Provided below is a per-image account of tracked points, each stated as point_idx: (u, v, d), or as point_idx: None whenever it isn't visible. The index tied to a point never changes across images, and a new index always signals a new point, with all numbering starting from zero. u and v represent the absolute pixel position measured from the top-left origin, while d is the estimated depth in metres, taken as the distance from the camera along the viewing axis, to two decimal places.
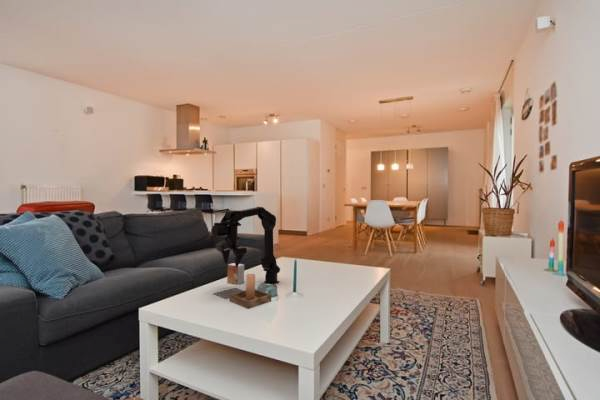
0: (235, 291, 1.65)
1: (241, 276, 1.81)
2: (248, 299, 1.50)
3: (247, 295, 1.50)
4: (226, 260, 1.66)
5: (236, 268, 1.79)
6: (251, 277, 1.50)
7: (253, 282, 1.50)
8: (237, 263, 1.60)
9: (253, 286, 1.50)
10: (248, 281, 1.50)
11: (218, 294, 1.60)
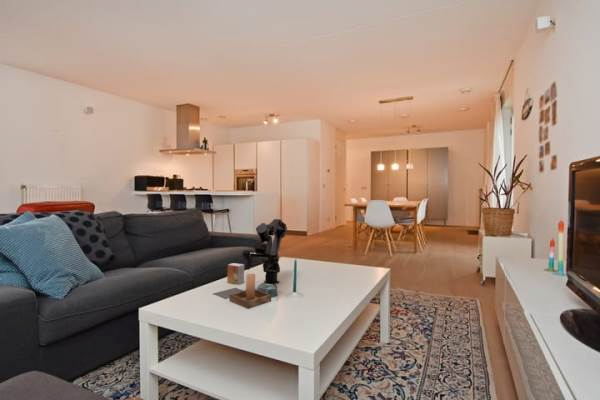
0: (235, 291, 1.65)
1: (241, 276, 1.81)
2: (248, 299, 1.50)
3: (247, 295, 1.50)
4: (249, 266, 1.61)
5: (236, 268, 1.79)
6: (251, 277, 1.50)
7: (253, 282, 1.50)
8: (267, 267, 1.59)
9: (253, 286, 1.50)
10: (248, 281, 1.50)
11: (218, 294, 1.60)
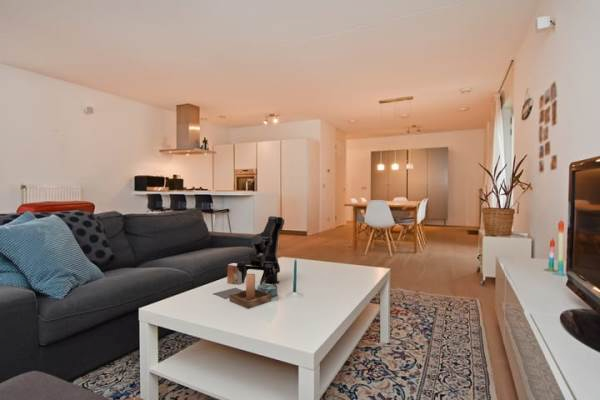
0: (235, 291, 1.65)
1: (241, 276, 1.81)
2: (248, 299, 1.50)
3: (247, 295, 1.50)
4: (243, 279, 1.55)
5: (236, 268, 1.79)
6: (251, 277, 1.50)
7: (253, 282, 1.50)
8: (262, 280, 1.53)
9: (253, 286, 1.50)
10: (248, 281, 1.50)
11: (218, 294, 1.60)
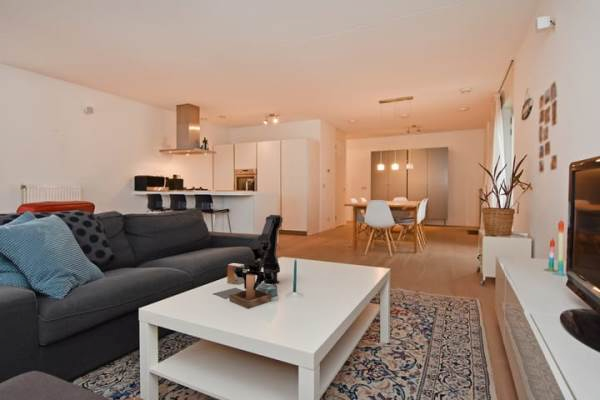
0: (235, 291, 1.65)
1: None
2: (248, 299, 1.50)
3: (247, 295, 1.50)
4: None
5: None
6: (251, 277, 1.50)
7: (253, 282, 1.50)
8: (256, 286, 1.51)
9: (253, 286, 1.50)
10: (248, 281, 1.50)
11: (218, 294, 1.60)
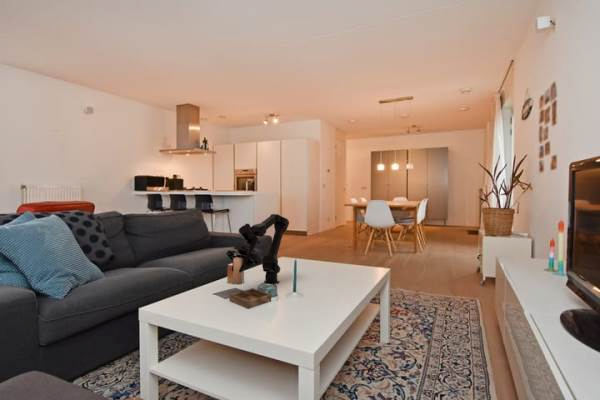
0: (235, 291, 1.65)
1: None
2: (234, 281, 1.55)
3: (234, 277, 1.56)
4: None
5: None
6: (237, 260, 1.55)
7: (239, 265, 1.55)
8: (242, 269, 1.55)
9: (239, 269, 1.55)
10: (234, 264, 1.55)
11: (218, 294, 1.60)
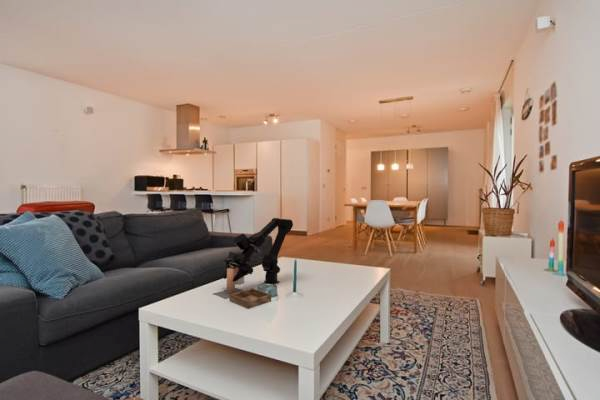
0: (235, 291, 1.65)
1: None
2: (227, 291, 1.61)
3: None
4: (226, 276, 1.65)
5: (236, 268, 1.79)
6: (229, 270, 1.60)
7: (231, 275, 1.61)
8: (236, 278, 1.59)
9: (231, 279, 1.61)
10: (227, 274, 1.61)
11: (218, 294, 1.60)
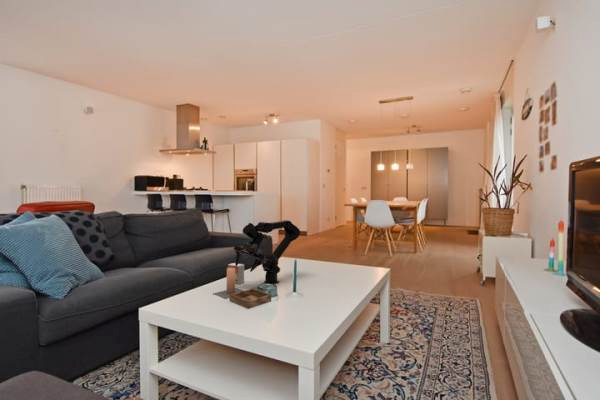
0: (235, 291, 1.65)
1: (241, 276, 1.81)
2: (227, 291, 1.61)
3: None
4: (237, 263, 1.71)
5: (236, 268, 1.79)
6: (229, 270, 1.60)
7: (231, 275, 1.61)
8: (253, 268, 1.68)
9: (231, 279, 1.61)
10: (227, 274, 1.61)
11: (218, 294, 1.60)
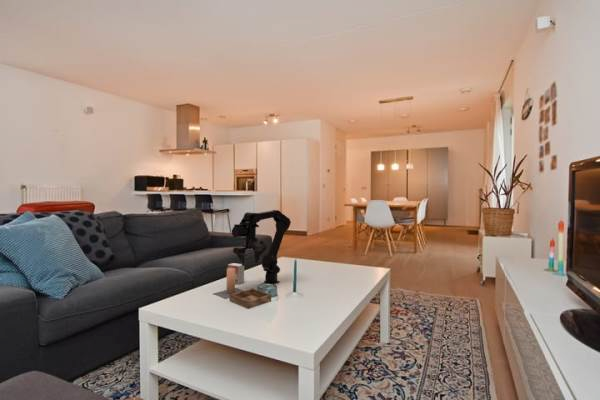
0: (235, 291, 1.65)
1: (241, 276, 1.81)
2: (227, 291, 1.61)
3: None
4: None
5: (236, 268, 1.79)
6: (229, 270, 1.60)
7: (231, 275, 1.61)
8: None
9: (231, 279, 1.61)
10: (227, 274, 1.61)
11: (218, 294, 1.60)
